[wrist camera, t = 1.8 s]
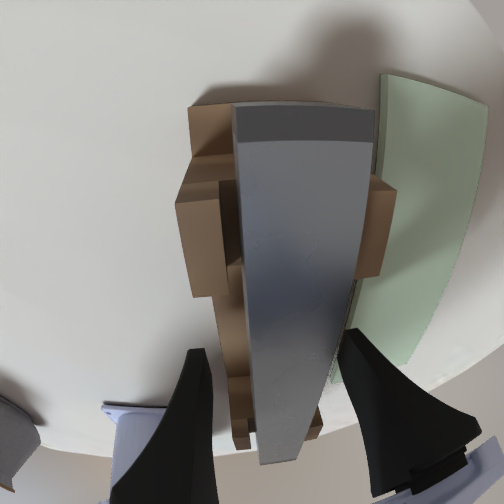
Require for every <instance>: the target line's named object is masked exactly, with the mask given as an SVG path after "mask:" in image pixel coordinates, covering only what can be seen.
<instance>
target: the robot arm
mask: <svg viewBox="0 0 504 504" xmlns="http://www.w3.org/2000/svg"><path fill="white" fill-rule="evenodd" d="M337 361H338V365H339V369H340V373H341V377H342V379H343V382H344V385H345V387H346V390H347V392H348V395H349V397H350V400H351V402H352V405H353V407H354V410H355V412H356V415H357V418H358V421H359V424H360V428H361V432H362V436H363V440H364V445H365V449H366V455H367V460H368V466H369V475H370V484H371V493H372V497H373V498H374V497H377V496H380V495H383V494H385V493H388V492H390V491H392V490H395V491H396V494H395V495H393V496H390V497H388V498H385V499H383V500H380V501H378V502H375V503H372V504H473V503H474V502H475V501H476V500H477V499H478V498H479V497H480V496H481V495H482V494H483V493H485V492H486V491H487V490H488V489H489V488H490V487H491V486H492V485H493V484H494V483H495V482H496V481H497V480H498V479H500V478H501V477H502V476H503V475H504V455H503V452H502V450H501V448H500V445H499V443H498V441H497V438H496V436H493V437H491V438H490V439H489V440H487V441H486V442H485V443H483V444H482V445H481V446H479V447H478V448H476V449H474V450H473V451H471V452H470V453H468V454H467V455H465V454H464V452H466V451H467V449H466V447H465V445H466V444H468V443H469V442H470V441H472V440H473V439H474V438H476V437H477V436H479V435H480V434H481V433H482V430H481V428H480V426H479V424H478V422H477V420H476V418H475V417H473V416H470V415H468V414H465V413H463V412H460V411H458V410H456V409H454V408H452V407H450V406H448V405H446V404H445V403H443V402H441V401H440V400H438V399H436V398H435V397H433V396H432V395H430V394H428V393H427V392H426V391H424V390H423V389H421V388H420V387H419V386H417V385H416V384H415V383H414V382H412V381H411V380H410V379H409V378H408V377H406V376H405V375H404V374H403V373H402V372H401V371H400V370H398V369H397V368H396V367H395V366H394V365H393V364H392V363H391V362H390V361H389V360H388V359H387V358H386V357H385V356H384V355H383V354H382V353H381V352H380V351H379V350H378V349H377V348H376V347H375V346H374V345H373V343H372V342H371V341H370V340H369V339H368V338H367V337H366V336H365V335H364V334H363V333H362V332H361V331H360V330H359V329H358V328H352V329H347V330H345V331H344V335H343V338H342V341H341V345H340V348H339V351H338V355H337ZM101 410H102V411H103V412H104V413H105V414H106V415H107V416H108V417H109V418H110V419H111V420H112V421H113V422H114V423H115V424H116V425H117V427H116V434H115V442H114V451H113V461H112V472H111V486H110V499H107V500H106V502H105V501H100V502H99V503H97V504H219V500H218V494H217V486H216V479H215V471H214V463H213V451H212V418H213V386H212V374H211V371H210V367H209V363H208V360H207V356H206V353H205V349H204V348H199V349H189V350H188V352H187V356H186V360H185V363H184V366H183V369H182V372H181V375H180V378H179V381H178V383H177V386H176V388H175V391H174V393H173V396H172V398H171V400H170V402H169V405H168V407H167V408H138V407H123V406H111V405H102V406H101Z"/></svg>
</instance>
